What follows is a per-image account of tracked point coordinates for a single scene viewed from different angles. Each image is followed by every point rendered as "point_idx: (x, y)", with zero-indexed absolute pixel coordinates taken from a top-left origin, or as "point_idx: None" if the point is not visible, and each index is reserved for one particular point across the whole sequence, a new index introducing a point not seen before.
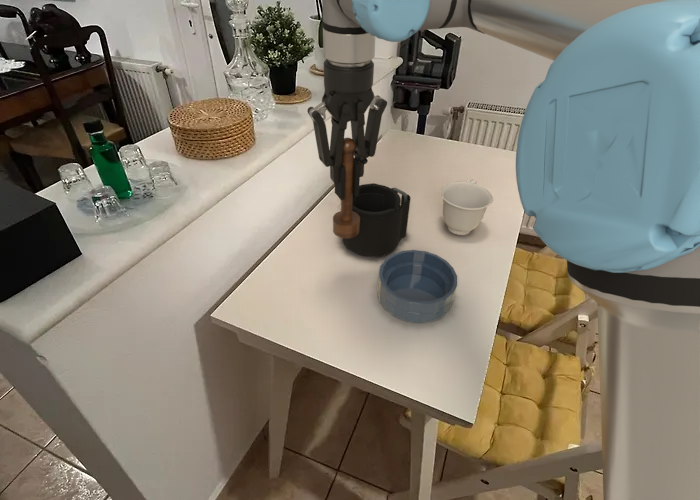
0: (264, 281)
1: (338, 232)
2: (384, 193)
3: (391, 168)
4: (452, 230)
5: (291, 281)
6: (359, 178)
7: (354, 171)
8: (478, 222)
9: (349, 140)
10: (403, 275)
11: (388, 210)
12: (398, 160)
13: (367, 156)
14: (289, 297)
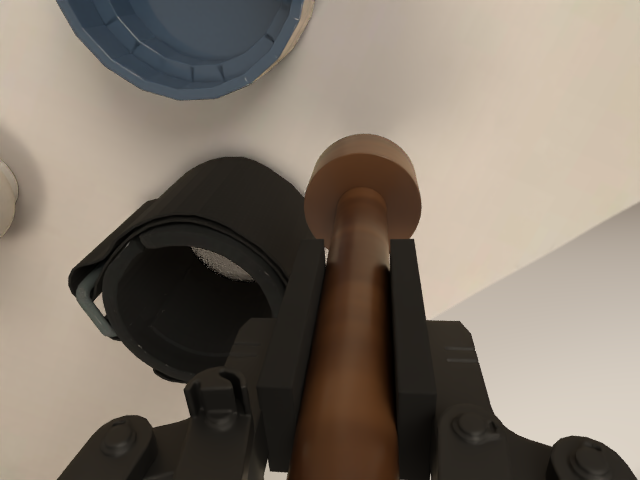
0: (577, 199)
1: (411, 167)
2: (147, 331)
3: None
4: (6, 174)
5: (511, 170)
6: (283, 302)
7: (304, 355)
8: None
9: None
10: (207, 57)
11: (164, 240)
12: (71, 451)
13: (168, 431)
14: (549, 113)
